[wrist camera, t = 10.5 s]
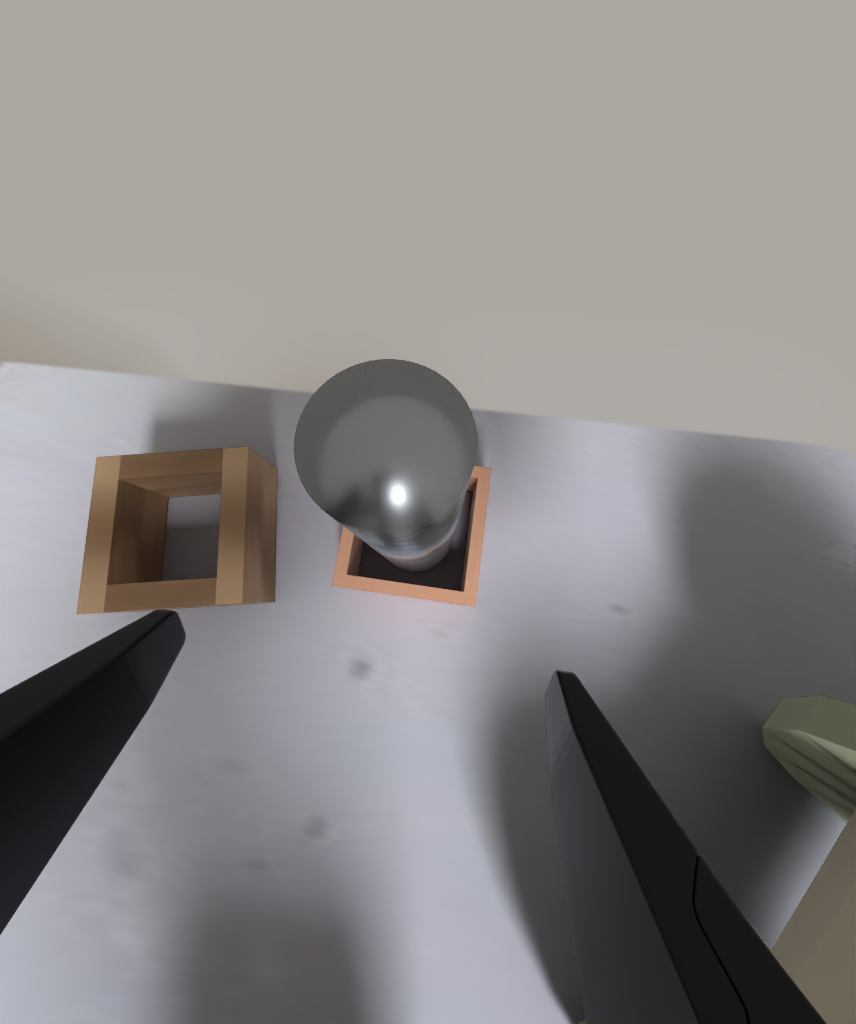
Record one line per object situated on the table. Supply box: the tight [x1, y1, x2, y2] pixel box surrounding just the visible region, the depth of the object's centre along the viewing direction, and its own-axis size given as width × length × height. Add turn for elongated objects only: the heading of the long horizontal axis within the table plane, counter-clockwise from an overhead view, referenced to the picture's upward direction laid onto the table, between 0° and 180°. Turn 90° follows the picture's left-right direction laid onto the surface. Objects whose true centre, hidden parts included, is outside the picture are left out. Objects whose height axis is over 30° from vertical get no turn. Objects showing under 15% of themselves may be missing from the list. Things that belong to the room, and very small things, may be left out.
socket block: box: [332, 466, 491, 607], centre depth 20 cm, size 7×7×2 cm
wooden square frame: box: [77, 446, 277, 614], centre depth 20 cm, size 7×7×4 cm
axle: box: [294, 359, 477, 571], centre depth 15 cm, size 4×4×13 cm
